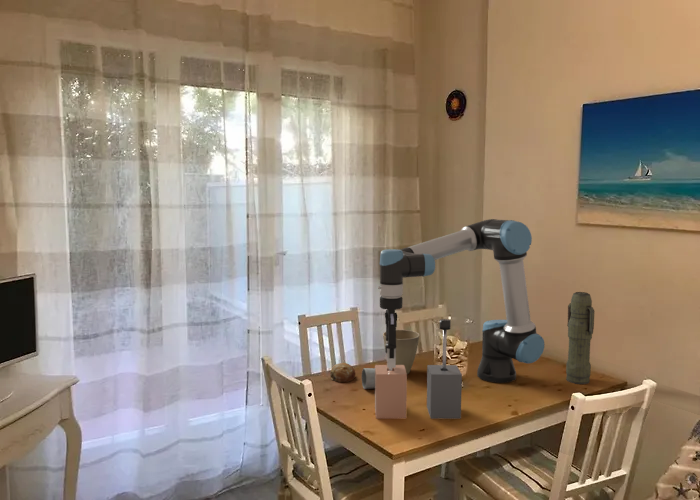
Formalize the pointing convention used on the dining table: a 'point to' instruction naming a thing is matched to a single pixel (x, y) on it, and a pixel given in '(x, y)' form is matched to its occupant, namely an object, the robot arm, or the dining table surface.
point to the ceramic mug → (368, 378)
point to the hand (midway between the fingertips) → (390, 363)
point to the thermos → (579, 338)
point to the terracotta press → (390, 391)
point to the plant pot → (405, 347)
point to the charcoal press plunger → (444, 338)
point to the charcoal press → (444, 392)
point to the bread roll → (342, 372)
